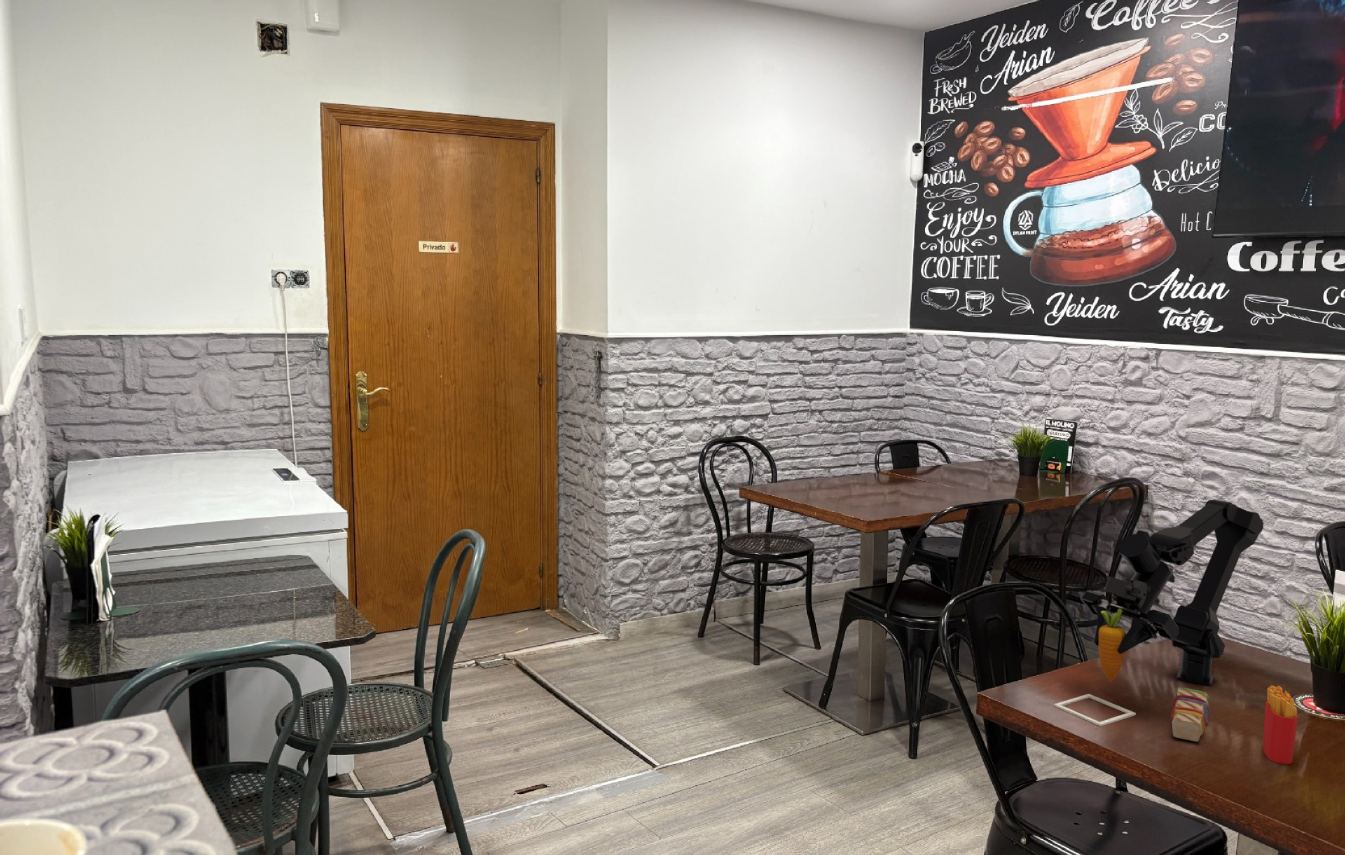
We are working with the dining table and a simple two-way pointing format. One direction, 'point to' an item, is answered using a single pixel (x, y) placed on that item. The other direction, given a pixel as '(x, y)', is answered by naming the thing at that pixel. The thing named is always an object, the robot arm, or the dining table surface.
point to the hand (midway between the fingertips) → (1107, 648)
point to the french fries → (1279, 726)
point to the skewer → (1189, 714)
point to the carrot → (1111, 645)
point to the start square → (1105, 722)
